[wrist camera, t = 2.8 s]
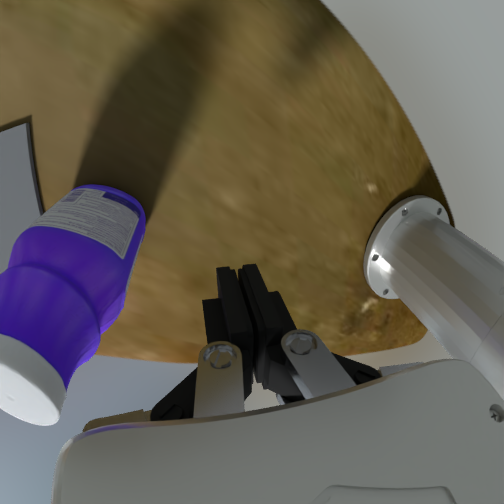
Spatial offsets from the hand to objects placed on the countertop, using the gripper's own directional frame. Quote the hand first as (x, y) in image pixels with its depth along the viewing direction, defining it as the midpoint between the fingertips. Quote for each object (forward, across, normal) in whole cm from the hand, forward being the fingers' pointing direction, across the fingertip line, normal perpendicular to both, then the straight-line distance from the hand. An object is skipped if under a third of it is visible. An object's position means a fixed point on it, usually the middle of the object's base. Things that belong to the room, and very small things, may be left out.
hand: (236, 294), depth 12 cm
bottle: (+12, +9, 0) cm, 15 cm away
